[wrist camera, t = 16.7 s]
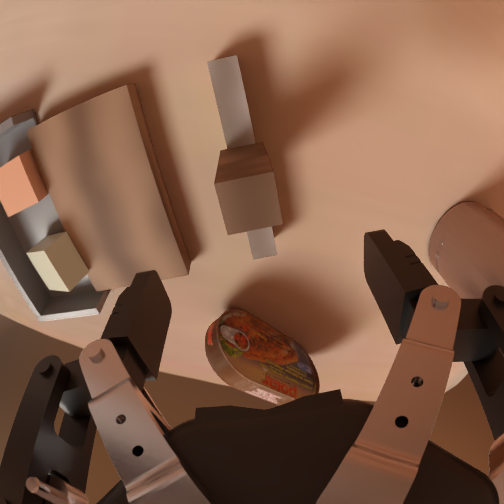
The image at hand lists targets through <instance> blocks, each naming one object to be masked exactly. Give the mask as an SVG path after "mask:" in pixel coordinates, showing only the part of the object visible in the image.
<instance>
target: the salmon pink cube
mask: <svg viewBox="0 0 504 504" xmlns="http://www.w3.org/2000/svg"><path fill="white" fill-rule="evenodd" d="M48 194H49V192H48V190H47V187H46V185H45V182H44V180H43V177H42V174H41V172H40V169H39V166H38V164H37V161H36V158H35V155H34V152H33V149H30V150H28V151H26V152H24V153H22V154H20V155H19V156H17V157H15V158H14V159H12V160H11V161H9V162H8V163H6V164H5V165H3V166H2V167H0V201H1V203H2V205H3V207H4V209H5V211H6V213H7V215H8V217H10V216H12V215H14V214H16V213H18V212H20V211H22V210H24V209H26V208H28V207H30V206H32V205H34V204H36V203H38V202H39V201H41V200H42V199H43V198H44V197H45V196H47V195H48Z"/></svg>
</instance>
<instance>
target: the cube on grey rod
mask: <svg viewBox="0 0 504 504" xmlns="http://www.w3.org/2000/svg"><path fill="white" fill-rule="evenodd" d="M207 63H208V67H209V72H210V76H211V80H212V85H213V89H214V93H215V97H216V102H217V106H218V110H219V114H220V119H221V123H222V127H223V132H224V136H225V140H226V144H227V149H226V150H221V151H220V157H219V162H218V167H217V172H216V177H215V183H214V185H215V189H216V192H217V196H218V200H219V204H220V207H221V211H222V215H223V219H224V222H225V226H226V230H227V234H228V235H231V234H236V233H241V232H246V231H247V234H248V238H249V242H250V247H251V251H252V255H253V260H254V259H259V258H264V257H269V256H275V255H277V251H276V246H275V240H274V235H273V230H272V226H277V225H282V224H283V222H282V216H281V210H280V204H279V199H278V193H277V187H276V182H275V176H274V171H273V168H272V166H271V163H270V160H269V158H268V155H267V152H266V150H265V147H264V144H263V142H260V143H255V138H254V133H253V128H252V123H251V119H250V114H249V109H248V104H247V100H246V95H245V90H244V86H243V81H242V77H241V72H240V67H239V63H238V58H237V55H235V56H230V57H225V58H221V59H216V60H212V61H208V62H207Z"/></svg>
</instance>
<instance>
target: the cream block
mask: <svg viewBox="0 0 504 504" xmlns="http://www.w3.org/2000/svg"><path fill="white" fill-rule="evenodd" d="M27 255H28V257H29V258H30V260H31V262H32V263H33V265H34V267H35V268H36V270H37V271H38V273H39V275H40V276H41V278H42V279H43V281H44V282H45V284H46V285H47V287H48V288H49V290H57V291H67V292H70V291H71V290H72V289H73V288H74V287H75V286H76V285H77V284H78V283H79V282H80V281H81V280H82V279H83V278H84V277H85V276H86V275H87V274H88V273H89V270H88V268H87V267H86V265H85V263H84V262H83V260H82V258H81V257H80V255H79V253H78V251H77V250H76V248H75V246H74V244H73V243H72V241H71V239H70V237H69V235H68V233H67V232H62V233H57V234H53V235H48V236H46V237H44V238H43V239H42V240H41V241H40V242H39V243H37V244H36V245H35V246H34V247H33V248H32V249H30V250H29V251H28V252H27Z"/></svg>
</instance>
